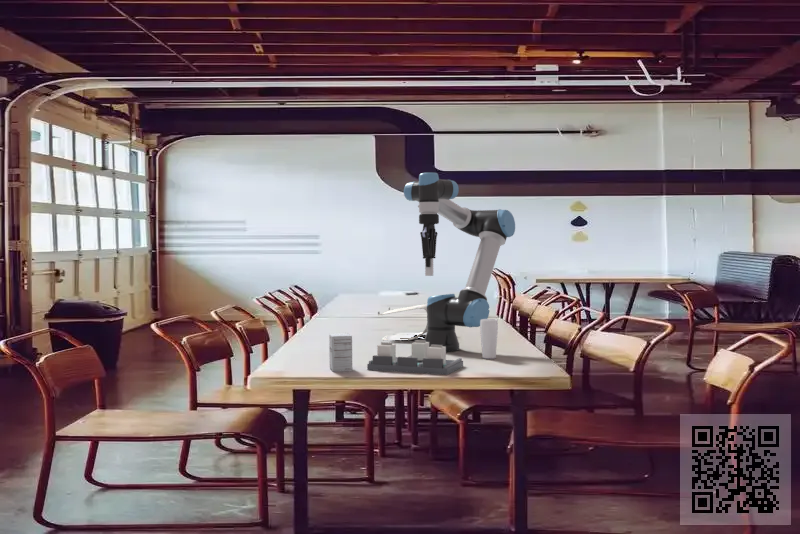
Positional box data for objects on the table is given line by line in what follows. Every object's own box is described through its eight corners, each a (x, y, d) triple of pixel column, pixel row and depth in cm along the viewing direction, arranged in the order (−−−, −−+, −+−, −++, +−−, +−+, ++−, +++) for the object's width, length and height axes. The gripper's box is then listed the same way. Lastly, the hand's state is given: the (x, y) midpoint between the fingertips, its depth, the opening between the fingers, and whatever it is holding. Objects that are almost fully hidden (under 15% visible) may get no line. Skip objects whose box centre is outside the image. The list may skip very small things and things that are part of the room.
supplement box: (329, 368, 271) (328, 333, 270) (349, 367, 272) (349, 332, 272) (332, 372, 263) (331, 336, 263) (352, 371, 265) (352, 335, 265)
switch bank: (387, 361, 284) (386, 348, 284) (463, 366, 273) (463, 352, 272) (367, 369, 267) (367, 355, 267) (447, 374, 256) (447, 360, 256)
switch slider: (432, 362, 266) (432, 343, 265) (445, 363, 264) (445, 344, 263) (427, 365, 261) (427, 345, 261) (441, 365, 259) (441, 346, 259)
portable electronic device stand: (427, 341, 340) (427, 307, 339) (377, 340, 345) (376, 307, 344) (437, 334, 364) (437, 303, 364) (390, 333, 370) (390, 302, 369)
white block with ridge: (416, 357, 278) (416, 339, 277) (429, 358, 276) (429, 339, 276) (411, 359, 273) (411, 341, 273) (424, 360, 271) (424, 341, 271)
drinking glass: (490, 360, 286) (490, 320, 285) (476, 358, 291) (476, 319, 290) (501, 358, 291) (501, 319, 290) (487, 356, 295) (487, 318, 295)
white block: (383, 360, 273) (382, 341, 272) (395, 360, 271) (395, 342, 271) (377, 362, 268) (377, 343, 268) (390, 362, 266) (390, 343, 266)
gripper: (425, 214, 292) (425, 274, 293) (413, 213, 280) (414, 276, 281) (443, 213, 290) (444, 275, 290) (432, 212, 278) (432, 276, 278)
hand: (429, 275), depth 286 cm, fingers closed
